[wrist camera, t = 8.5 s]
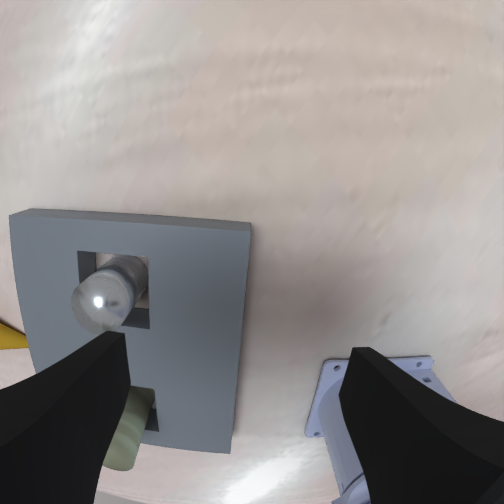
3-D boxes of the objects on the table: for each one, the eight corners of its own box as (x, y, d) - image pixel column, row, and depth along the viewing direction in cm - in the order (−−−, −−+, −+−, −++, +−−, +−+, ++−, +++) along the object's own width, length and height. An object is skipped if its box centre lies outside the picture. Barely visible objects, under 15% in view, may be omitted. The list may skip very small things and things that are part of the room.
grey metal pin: (148, 255, 19) (121, 285, 14) (148, 299, 20) (124, 339, 15) (104, 251, 19) (67, 278, 14) (106, 294, 20) (74, 330, 15)
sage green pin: (154, 379, 22) (130, 448, 15) (155, 407, 23) (136, 474, 16) (116, 372, 22) (84, 436, 15) (120, 400, 23) (93, 464, 16)
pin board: (250, 222, 19) (251, 231, 17) (230, 431, 24) (230, 453, 21) (30, 208, 18) (8, 215, 16) (63, 403, 23) (52, 420, 20)
